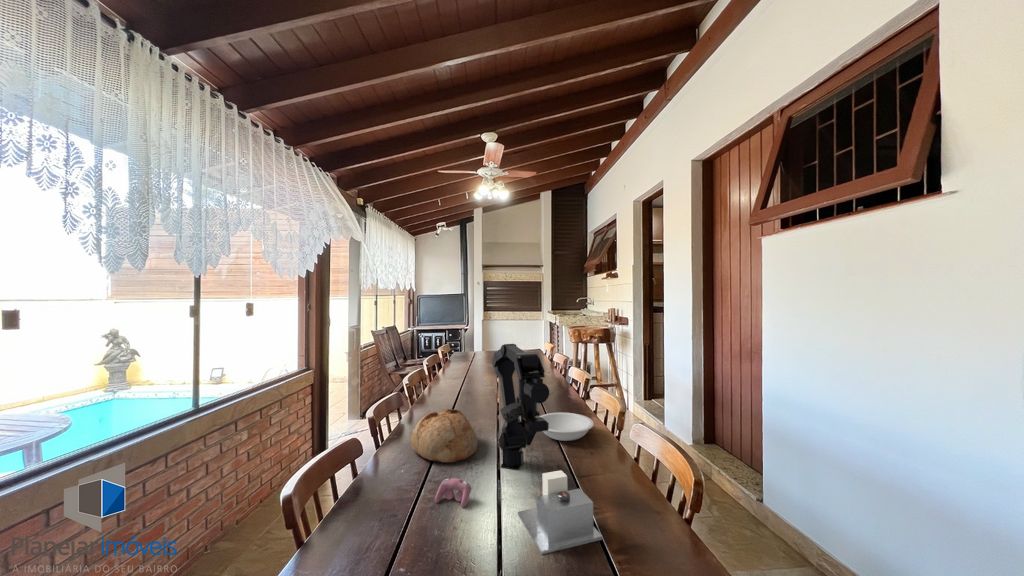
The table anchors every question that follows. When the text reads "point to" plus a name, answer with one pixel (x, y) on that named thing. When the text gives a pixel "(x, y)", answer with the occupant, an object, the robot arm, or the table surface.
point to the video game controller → (455, 484)
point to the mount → (561, 521)
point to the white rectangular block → (554, 482)
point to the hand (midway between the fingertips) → (528, 444)
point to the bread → (444, 437)
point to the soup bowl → (567, 425)
